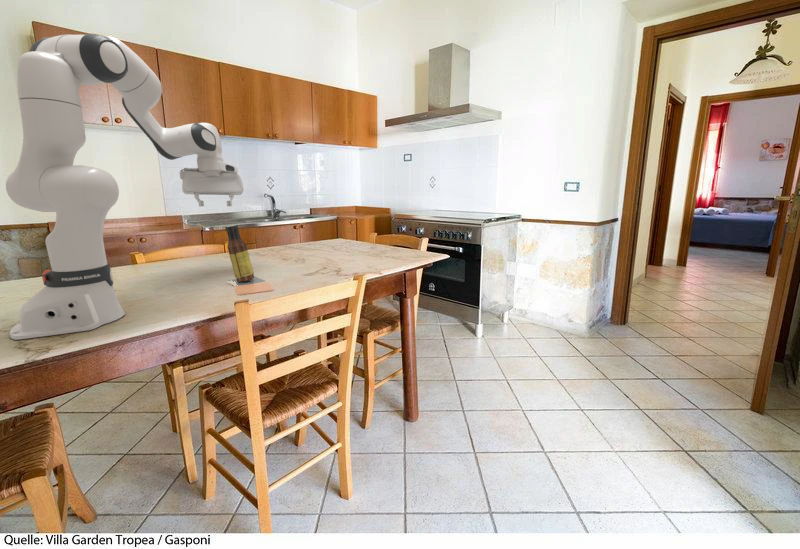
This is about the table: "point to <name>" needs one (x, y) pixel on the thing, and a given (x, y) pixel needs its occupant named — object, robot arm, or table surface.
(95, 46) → the robot arm
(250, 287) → the terracotta tile
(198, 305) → the table surface
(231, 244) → the sauce bottle
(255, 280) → the slate tile
